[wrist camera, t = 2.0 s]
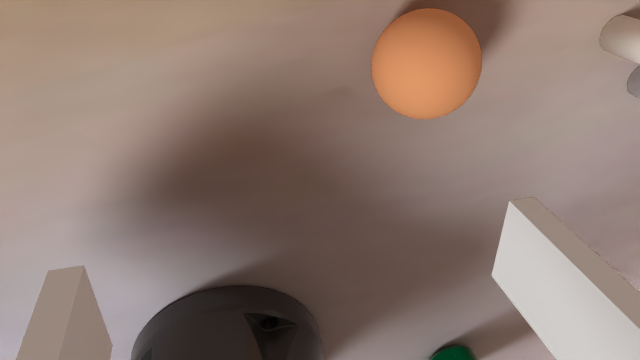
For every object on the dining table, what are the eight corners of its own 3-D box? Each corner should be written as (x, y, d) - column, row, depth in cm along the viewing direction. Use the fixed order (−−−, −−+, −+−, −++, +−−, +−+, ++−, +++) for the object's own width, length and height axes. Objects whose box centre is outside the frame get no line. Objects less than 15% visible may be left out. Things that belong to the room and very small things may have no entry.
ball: (455, 78, 31) (506, 115, 26) (369, 109, 31) (403, 152, 26) (445, -16, 28) (501, 5, 23) (348, 17, 27) (383, 47, 23)
